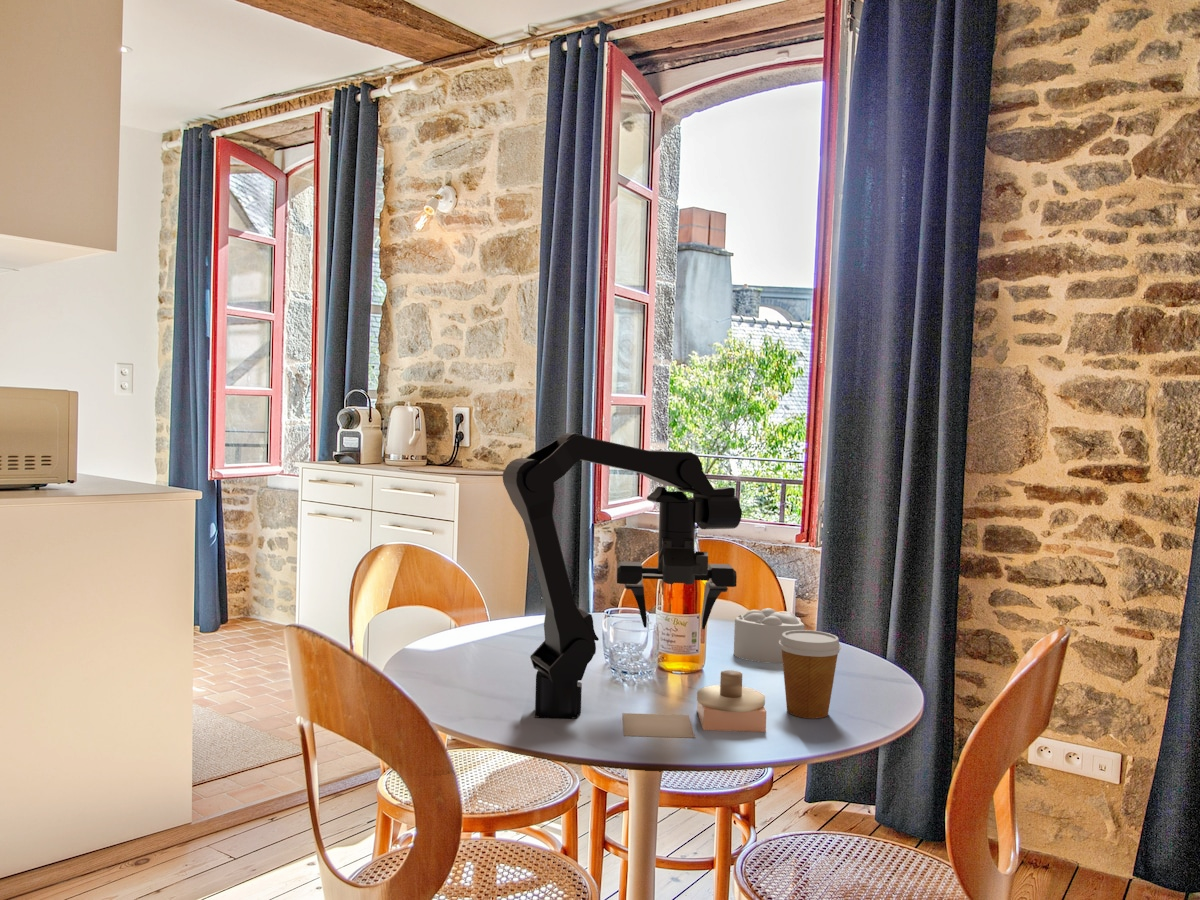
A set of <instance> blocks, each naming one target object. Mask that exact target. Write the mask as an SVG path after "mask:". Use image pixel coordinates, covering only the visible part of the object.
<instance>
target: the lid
mask: <svg viewBox="0 0 1200 900" xmlns="http://www.w3.org/2000/svg"><path fill="white" fill-rule="evenodd" d="M719 683H720V684H715V685H714V684H713V685H709V686H705V687H701V688H699V689H698V690H697V692H696V701H698V702H699V703H700V704H701V705H703V706H705V707H708V708H711V709H715V710H721V711H729V712H747V711H754V710H758V709H761V708H762V707H764V708H765V704H766V696H765V694H764V693H762V692H761V691H759V690H757V689H754V688H751V687H745V686H743V673H742V672H741V671H738V670H722V671H721V672H720V682H719Z"/></svg>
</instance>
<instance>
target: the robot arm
mask: <svg viewBox="0 0 1200 900" xmlns="http://www.w3.org/2000/svg"><path fill="white" fill-rule="evenodd" d="M699 458H700V457H699V456H698V455H697V454H696V453H693V452H691V451H690V452H689V451H680V450H678V451H677V450H659V449H658V450H656V449H654V450H652V449H651V450H650V449H649V450H647V449H643V448H639V447H634V446H629V445H626V444H621V443H615V442H612V441H606V440H602V439H598V438H595V437H594V438H593V437H589V436H586V435H584V434H582V433H575V432H565V433H563V434H561V435H560V436H559V437H558V438H557V439H555V440H553V441H552V442H550V443H548V444H546V445H544V446H543V447H541V448H539V449H537V450H536V451H534V452H532V453H530V454H529V455H527V456H526V457H519V458H515V459H513V460H511V461H510V462H509V463H508V464H507V465H506V467H505V469H504V471H503V472H502V482H503V486H504V488H505V489H506V493H507V494H508V497H509V499H510V501H511V503H512V505H513V507H515V510H516V511H517V513H518V514H519V516H520V517H521V520H522V521H523V524H524V528H525V531H526V536H527V539H528V544H529V547H530V551H531V555H532V559H533V562H534V566H535V571H536V575H537V578H538V582H539V587H540V590H541V595H542V598H543V603H544V605H545V606H544V607H545V614H544V622H543V630H544V631H543V632H544V641H543V642H541V644H540V645H539V646H538V647H537V648H536V650H535V651H534V652H533V653H532V654H531V655H530V661H531V664H532V667H533V669H535V670H537V672H536V674H535V698H534V699H535V701H534V702H535V704H534V713H533V718H534V719H552V720H553V719H556V720H558V719H559V720H563V719H564V720H577V719H578V715H580V714H581V713H582V693H583V692H582V691H583V689H582V688H583V683H582V682H581V681H582V680H583V677H584V674H585V673H586V672H585V671H586V669H587V666H588V664H589V663H590V662H591V661H592V660H593V658H594V655H596V651H597V645H596V641H599V640H600V639H599V637H598V636H597V634H596V632H595V629H594V619H593V615H592V614H591V613H589V612H586V611H585V610H583V609H581V608H579V607H578V606H577V605H576V601H575V600H574V594H573V591H572V587H571V583H570V578H569V574H568V570H567V567H566V564H565V560H564V555H563V551H562V547H561V543H560V538H559V534H558V532H557V531H558V530H557V528H556V524H555V519H554V508H555V500H556V491H555V483H556V482H557V481H558V480H560V479H561V478H562V477H564V476H565V475H566V474H567V473H568V472H569V471H570V470H571V469H572V467H574V466H575V464H577V463H578V462H579V461H583V462H585V463H591V464H595V465H596V464H597V465H602V466H605V467H612V468H615V469H621V470H625V471H629V472H635V473H637V474H639V475H642V476H644V477H646V478H647V479H650V480H652V481H654V482H656V483H658V484H661V485H663V486H656V488H655V490H654V491H653V492H651V493H650V494H648V496H646V500H647V501H649V502H654V503H658V504H659V511H658V512H659V514H658V515H659V516H658V547H657V548H658V549H657V550H658V551H657V552H658V553H657V567H656V566H655V567H653V566H652V567H651V566H649V567H648V566H647V567H646V566H643V564H642V562H641V561H619V562H617V564H616V578H615V579H616V584H619V585H624V589H626V590H631V592H632V594H633V596H634V599H635V601H636V603H637V604H636V605H637V607H638V611H639V614H640V617H641V620H642V625H643V628H644V629H645V628H647V625H648V624H647V623H648V617H647V607H646V598H645V589H644V588H645V585H644V583H643V582H644V581H643V580H662V582H664V584H667V585H674V584H685V585H693V584H695V583H696V582H695V581H705V584H704V585H705V586H704V594H703V600H702V609H701V616H700V617H701V618H700V621H701V622H700V623H701V624H700V625H701V628H700V629H701V630H705V628H706V627H707V626H706V625H707V623H708V621H709V618H710V615H711V613H712V610H713V607H714V605H715V603H716V601H717V599H718V598H719V596H720V594H721V593H727V592H728V590H729V589H728V588H735V587H737V579H738V578H737V577H738V576H737V571H736V570H735V569H734V568H733V566H731V564H729V563H728V564H727V563H709V554H708V551H695V539H696V538H695V537H696V535H695V534H696V525H697V526H698V528H699V529H701V530H727V529H728V530H729V529H730V530H734V529H736V528H737V527H738V526H739V525H740V523H741V519H742V515H743V512H742V508H741V504H740V501H739V499H738V497H737V495H736V488H735V487H731V486H720V487H716V488H715V487H713V485H712V484H711V482H710V480H709V479H708V477H707V475H706V474H705V473H704V472H705V471H703V464H702V462H701V460H700V459H699ZM664 486H667V487H672V488H676V489H677V490H674V491H673V490H670V491H669V490H667V488H666V487H664ZM686 493H688V494H690V493H691V494H693V496H690V497H689V496H687V494H686ZM579 681H580V682H579Z"/></svg>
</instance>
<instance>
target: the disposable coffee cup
mask: <svg viewBox="0 0 1200 900" xmlns="http://www.w3.org/2000/svg"><path fill="white" fill-rule="evenodd" d="M779 645H780V648H781V649H782V660H783V663H782V667H783V668H782V671H783V680H784V689H785V691H784V692H785V702H786V704H785V705H786V711H787V713H788V714H791V715H793V716H794V717H798V718H803V719H822V718H825V717H826V718H827V717H828V715H829V710H830V709H829V708H830V705H831V704H830V703H831V699H832V692H833V684H834V680H835V673H836V667H837V660H838V655H839V653H840V651H841V649H842V645H841V644H840V641H839V637H838V636H837V635H835V634H833V633H829V632H825V631H820V630H809V629H804V630H792V631H786V632H784V633H782V637H781V640H779Z"/></svg>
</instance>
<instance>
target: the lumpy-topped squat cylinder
mask: <svg viewBox="0 0 1200 900" xmlns="http://www.w3.org/2000/svg"><path fill="white" fill-rule="evenodd" d="M792 630H805V624H804V623H803V622H802V619H801V618H800V617H797V616H796V615H795V614H794V613H792V612H790V611H783V610H782V611H776V610H775V609H774V608H770V607H766V608H762V609H761V610H760V609H750V610H747V612H746V613H744V614H739V615H738V616H736V617H735V618H734V630H733V631H734V633H733V634H734V635H733V656H734V655H735V656H734V657H736V656H737V657H736V658H739V657H740V658H739V659H742V658H743V660H745V659H747V660H746V661H750V660H753V661H752V662H756V661H759V662H758V663H764V662H770V663H769V664H783V660H782V649H781V648H780V645H779V640H781V637H782V633H784V632H786V631H792Z"/></svg>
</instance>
